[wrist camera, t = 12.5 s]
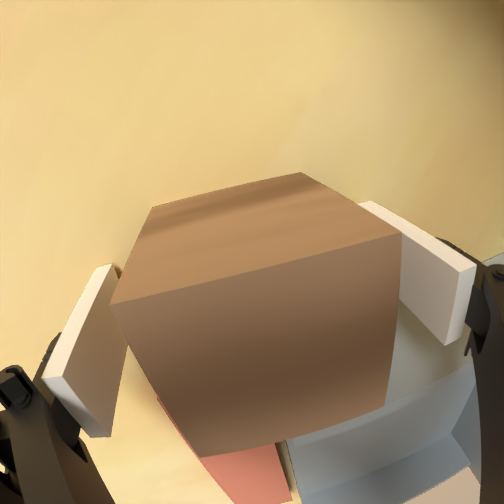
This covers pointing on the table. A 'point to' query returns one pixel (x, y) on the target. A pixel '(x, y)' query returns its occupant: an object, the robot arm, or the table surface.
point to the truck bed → (400, 427)
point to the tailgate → (247, 473)
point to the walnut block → (262, 311)
